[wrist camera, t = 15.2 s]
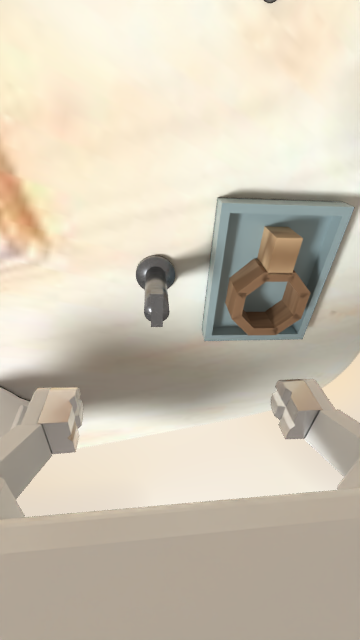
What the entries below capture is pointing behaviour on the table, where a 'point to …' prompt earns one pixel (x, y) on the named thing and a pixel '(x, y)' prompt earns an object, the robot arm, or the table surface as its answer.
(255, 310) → the tray
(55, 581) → the robot arm
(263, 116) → the table surface
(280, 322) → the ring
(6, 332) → the table surface
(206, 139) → the table surface
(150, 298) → the stake
